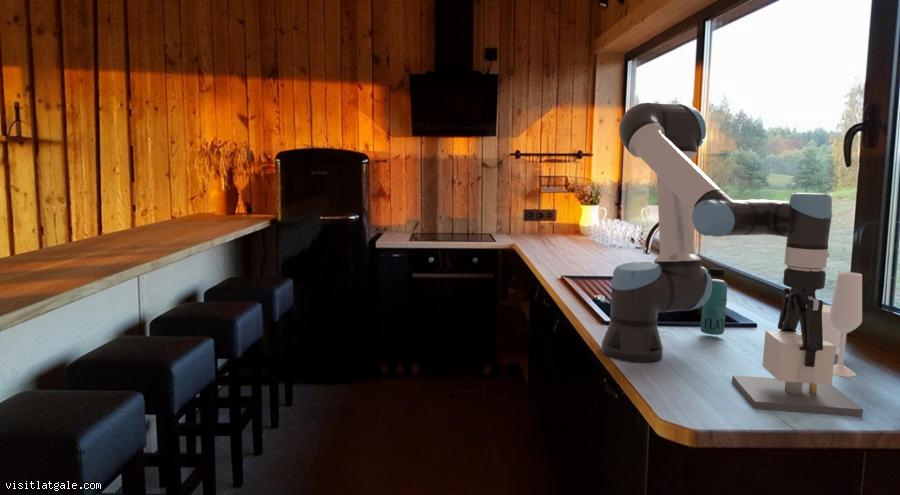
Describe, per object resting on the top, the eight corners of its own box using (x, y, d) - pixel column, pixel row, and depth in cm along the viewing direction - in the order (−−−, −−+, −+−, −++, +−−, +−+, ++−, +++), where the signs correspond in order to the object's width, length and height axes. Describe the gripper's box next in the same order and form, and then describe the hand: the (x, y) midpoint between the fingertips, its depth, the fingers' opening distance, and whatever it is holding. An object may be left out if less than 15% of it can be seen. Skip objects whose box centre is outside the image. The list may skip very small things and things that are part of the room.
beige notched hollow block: (778, 381, 128) (782, 342, 127) (762, 366, 138) (765, 330, 137) (831, 384, 126) (835, 345, 125) (811, 369, 136) (814, 333, 135)
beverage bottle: (699, 338, 178) (704, 268, 175) (699, 332, 184) (704, 265, 181) (724, 341, 175) (730, 270, 173) (723, 335, 182) (729, 267, 179)
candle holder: (846, 358, 161) (851, 313, 160) (805, 355, 163) (809, 310, 162) (831, 348, 171) (836, 305, 169) (792, 345, 173) (796, 302, 171)
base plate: (754, 408, 127) (757, 377, 126) (731, 381, 142) (734, 354, 141) (862, 416, 124) (865, 384, 123) (827, 388, 139) (830, 360, 138)
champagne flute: (843, 378, 146) (854, 276, 143) (817, 369, 152) (826, 271, 149) (862, 374, 149) (873, 275, 146) (835, 366, 155) (845, 270, 152)
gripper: (850, 278, 118) (839, 392, 120) (802, 260, 140) (794, 357, 143) (807, 276, 119) (797, 389, 122) (767, 259, 141) (759, 355, 144)
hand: (795, 372), depth 132 cm, fingers closed on beige notched hollow block, 10 cm apart
